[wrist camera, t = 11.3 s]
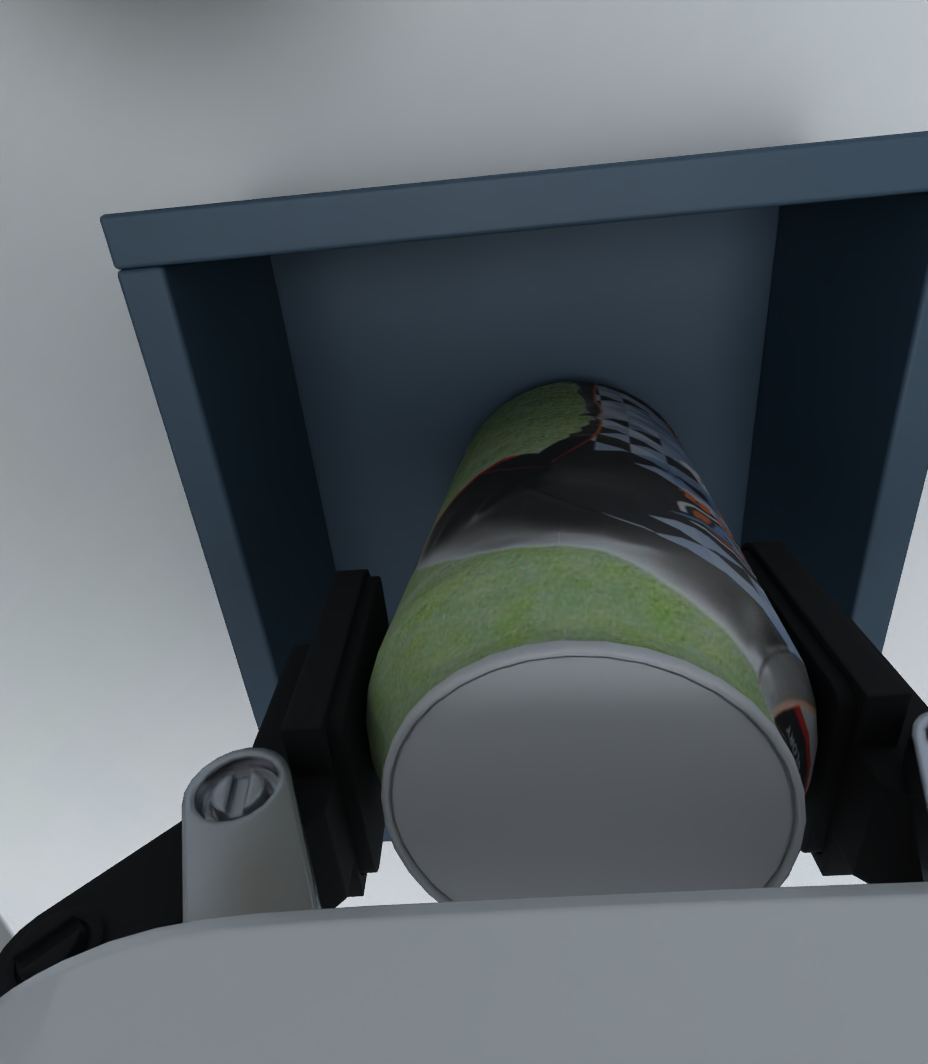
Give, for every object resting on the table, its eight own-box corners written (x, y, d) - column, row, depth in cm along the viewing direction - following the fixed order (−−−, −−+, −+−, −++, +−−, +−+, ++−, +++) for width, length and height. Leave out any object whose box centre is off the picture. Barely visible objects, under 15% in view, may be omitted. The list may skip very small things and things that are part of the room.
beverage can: (632, 587, 20) (832, 1043, 9) (391, 546, 19) (314, 991, 9) (709, 386, 17) (1119, 716, 7) (430, 328, 16) (386, 594, 6)
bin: (236, 203, 16) (96, 215, 10) (807, 146, 15) (1017, 121, 9) (341, 672, 23) (293, 846, 17) (741, 648, 22) (841, 821, 16)
